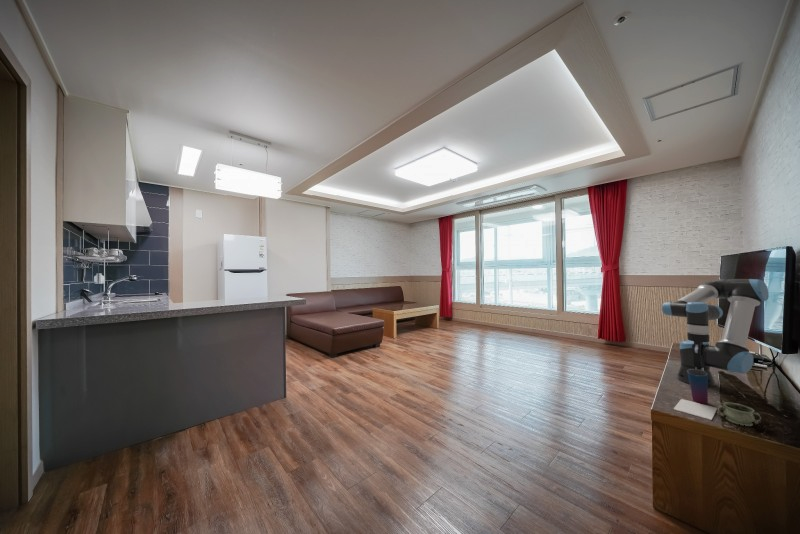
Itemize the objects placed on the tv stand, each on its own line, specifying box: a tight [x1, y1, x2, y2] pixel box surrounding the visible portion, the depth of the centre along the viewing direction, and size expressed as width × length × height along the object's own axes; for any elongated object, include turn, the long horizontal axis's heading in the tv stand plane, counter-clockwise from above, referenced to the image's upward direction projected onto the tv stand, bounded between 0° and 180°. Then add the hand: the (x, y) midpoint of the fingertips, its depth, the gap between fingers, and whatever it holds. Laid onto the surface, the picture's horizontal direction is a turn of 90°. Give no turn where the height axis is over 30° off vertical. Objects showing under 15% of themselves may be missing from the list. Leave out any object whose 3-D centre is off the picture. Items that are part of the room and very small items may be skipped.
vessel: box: [717, 401, 762, 427], centre depth 119 cm, size 12×9×6 cm
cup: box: [687, 369, 709, 405], centre depth 136 cm, size 7×7×15 cm
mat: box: [673, 398, 718, 421], centre depth 130 cm, size 16×12×1 cm
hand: (699, 380), depth 139 cm, fingers closed
